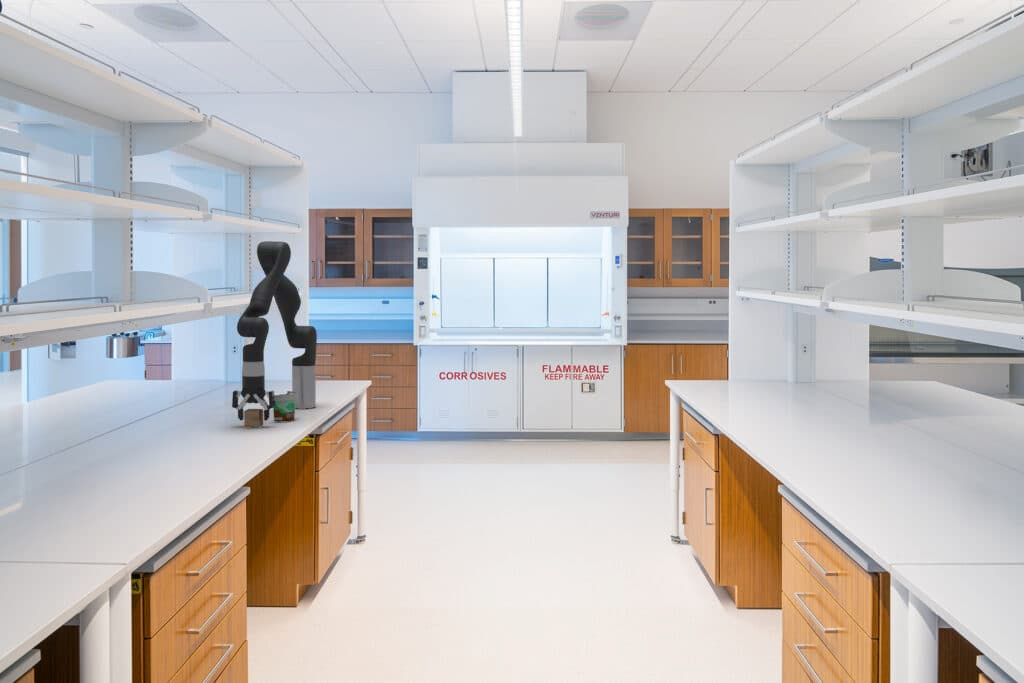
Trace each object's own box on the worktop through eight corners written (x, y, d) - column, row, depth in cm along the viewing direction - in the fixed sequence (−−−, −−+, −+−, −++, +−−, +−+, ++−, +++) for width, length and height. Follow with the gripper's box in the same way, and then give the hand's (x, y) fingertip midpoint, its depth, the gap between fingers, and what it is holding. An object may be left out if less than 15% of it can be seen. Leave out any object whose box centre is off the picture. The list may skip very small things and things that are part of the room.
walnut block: (249, 425, 279) (249, 408, 279) (263, 425, 279) (263, 408, 279) (244, 428, 274) (244, 411, 274) (258, 428, 274) (258, 411, 274)
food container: (287, 423, 284) (287, 395, 283) (272, 422, 285) (271, 395, 284) (303, 417, 296) (303, 391, 295) (288, 417, 297) (288, 390, 297)
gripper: (276, 373, 279) (277, 418, 280) (236, 372, 279) (237, 418, 280) (270, 375, 271) (270, 422, 273) (229, 375, 271) (229, 421, 273)
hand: (253, 420), depth 276 cm, fingers open, 8 cm apart
